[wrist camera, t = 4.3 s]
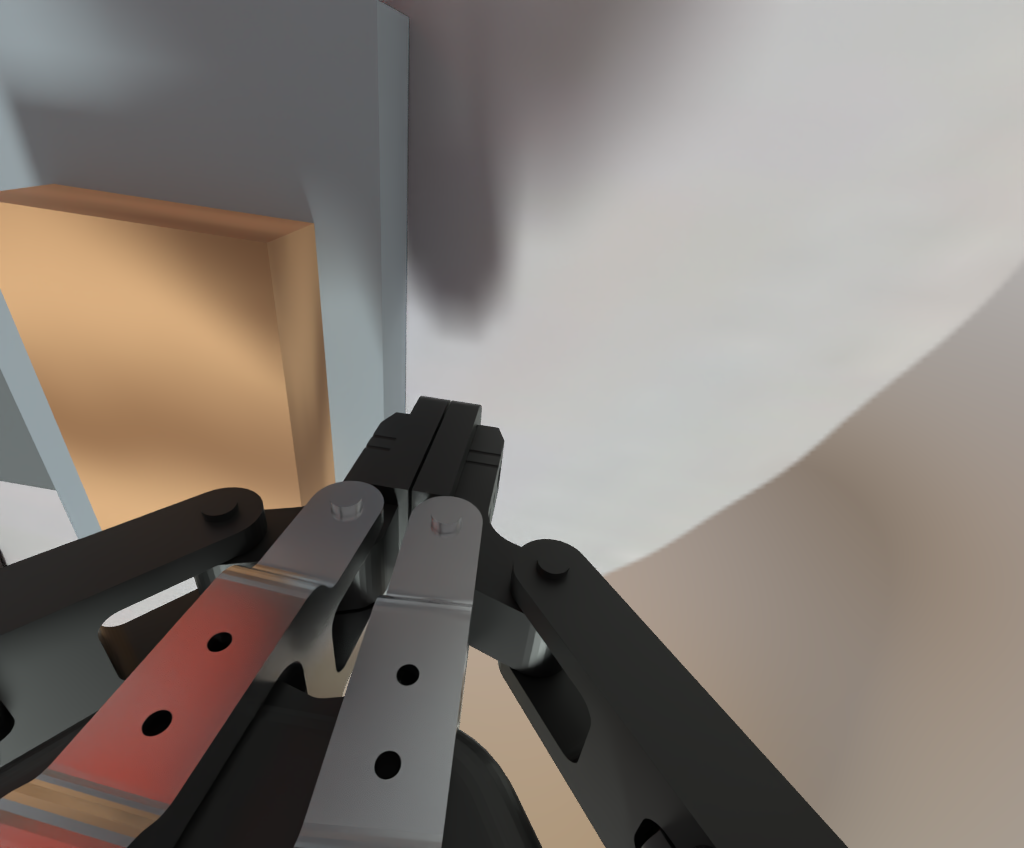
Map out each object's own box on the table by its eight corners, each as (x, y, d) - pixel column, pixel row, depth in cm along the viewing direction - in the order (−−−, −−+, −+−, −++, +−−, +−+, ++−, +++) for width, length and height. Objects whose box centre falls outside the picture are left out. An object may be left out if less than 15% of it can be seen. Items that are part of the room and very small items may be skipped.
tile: (53, 183, 11) (-40, 196, 10) (314, 223, 11) (267, 242, 10) (154, 492, 16) (104, 537, 14) (338, 524, 16) (310, 573, 14)
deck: (-86, -51, 11) (-205, -80, 9) (409, 17, 11) (376, -2, 9) (123, 504, 20) (79, 542, 18) (403, 553, 19) (386, 596, 18)
